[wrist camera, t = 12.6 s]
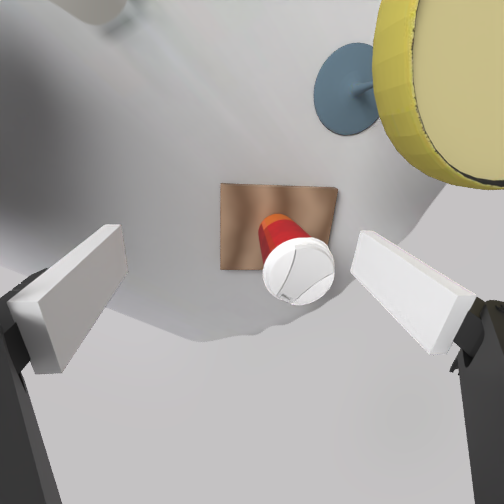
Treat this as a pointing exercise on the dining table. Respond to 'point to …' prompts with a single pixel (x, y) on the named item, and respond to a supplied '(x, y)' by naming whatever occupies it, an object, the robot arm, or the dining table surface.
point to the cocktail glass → (426, 87)
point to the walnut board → (261, 206)
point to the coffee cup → (294, 261)
